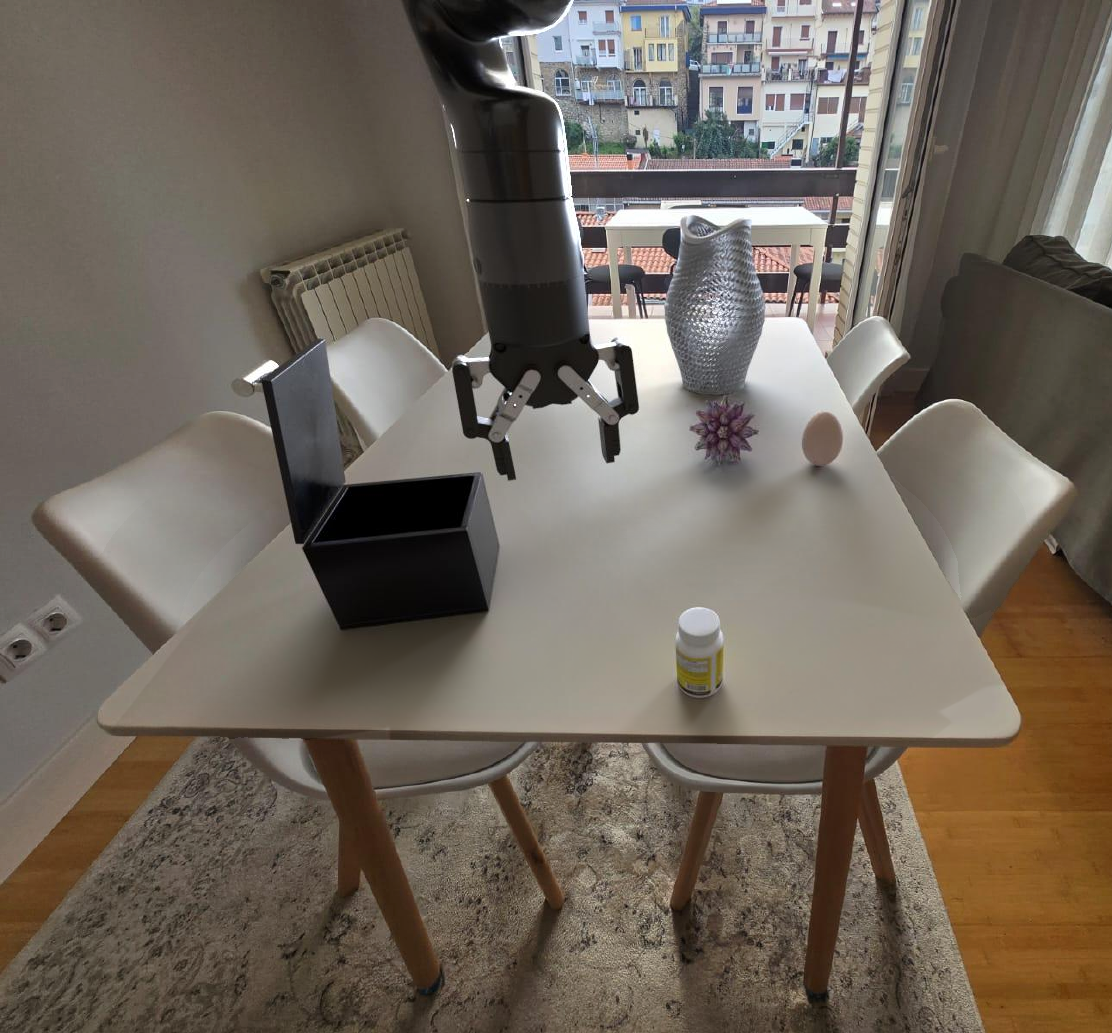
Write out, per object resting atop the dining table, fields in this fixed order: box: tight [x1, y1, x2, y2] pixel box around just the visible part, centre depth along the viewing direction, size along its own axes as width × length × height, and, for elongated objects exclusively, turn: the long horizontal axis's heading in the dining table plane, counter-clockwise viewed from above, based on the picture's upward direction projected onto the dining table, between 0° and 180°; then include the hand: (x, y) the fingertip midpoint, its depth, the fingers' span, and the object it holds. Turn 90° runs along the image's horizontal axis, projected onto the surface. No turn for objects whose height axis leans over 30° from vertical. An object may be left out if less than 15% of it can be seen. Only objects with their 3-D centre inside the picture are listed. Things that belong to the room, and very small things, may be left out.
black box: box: [301, 471, 501, 631], centre depth 69 cm, size 17×14×12 cm
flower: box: [688, 395, 760, 466], centre depth 97 cm, size 12×12×12 cm
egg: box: [801, 410, 844, 467], centre depth 96 cm, size 7×7×10 cm
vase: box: [663, 214, 766, 395], centre depth 124 cm, size 22×22×35 cm
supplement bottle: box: [674, 606, 725, 699], centre depth 56 cm, size 5×5×8 cm
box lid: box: [230, 338, 347, 545], centre depth 59 cm, size 18×14×5 cm
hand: (560, 467), depth 50 cm, fingers open, 8 cm apart
